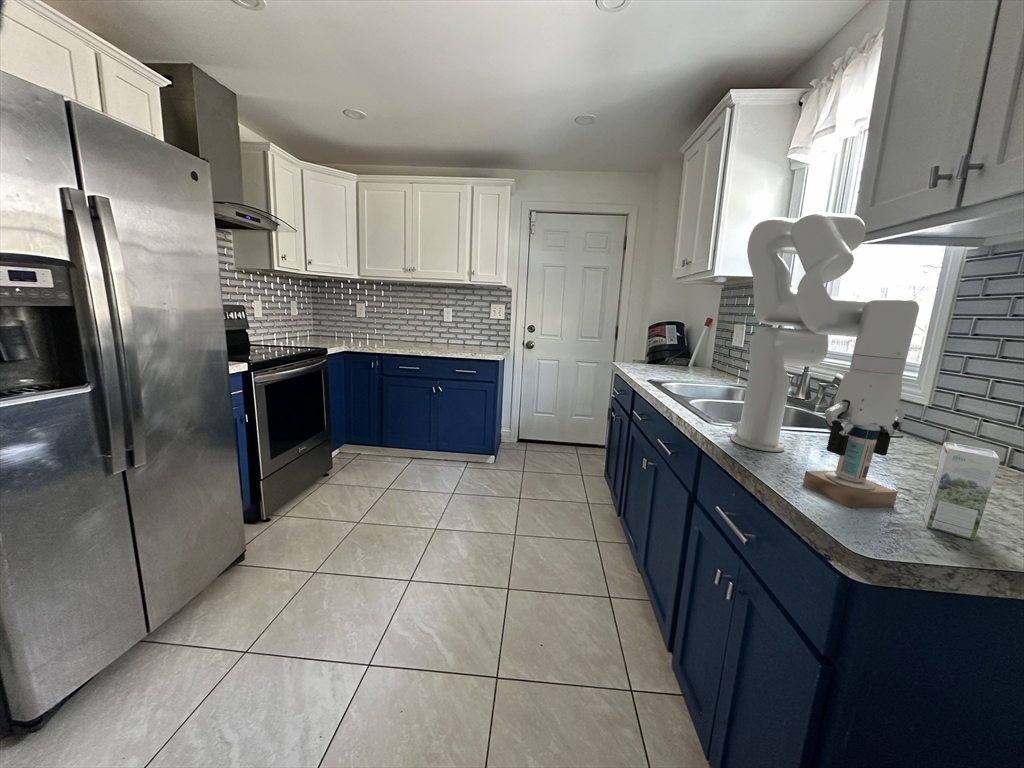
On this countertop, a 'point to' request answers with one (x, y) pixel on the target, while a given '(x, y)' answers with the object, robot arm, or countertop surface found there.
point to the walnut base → (850, 490)
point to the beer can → (858, 453)
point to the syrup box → (960, 489)
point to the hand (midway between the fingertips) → (856, 453)
